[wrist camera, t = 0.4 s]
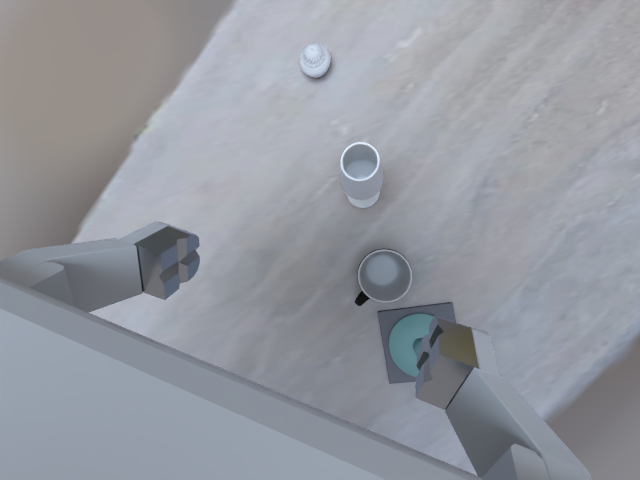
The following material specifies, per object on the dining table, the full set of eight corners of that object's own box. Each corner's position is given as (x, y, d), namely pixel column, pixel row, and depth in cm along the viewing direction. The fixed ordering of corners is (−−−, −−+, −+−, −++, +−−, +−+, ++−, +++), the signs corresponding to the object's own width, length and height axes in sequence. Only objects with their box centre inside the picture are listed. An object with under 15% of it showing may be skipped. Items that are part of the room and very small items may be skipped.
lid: (458, 372, 58) (467, 385, 53) (394, 377, 60) (396, 391, 54) (447, 309, 58) (455, 315, 53) (383, 316, 60) (385, 324, 55)
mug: (379, 237, 61) (381, 237, 51) (415, 267, 60) (424, 273, 50) (340, 283, 62) (334, 292, 52) (375, 313, 61) (376, 328, 51)
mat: (463, 375, 58) (465, 377, 57) (389, 381, 60) (389, 383, 60) (451, 302, 59) (452, 303, 58) (377, 311, 61) (377, 312, 60)
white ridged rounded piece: (332, 52, 62) (327, 29, 55) (333, 82, 62) (329, 63, 55) (302, 57, 63) (293, 34, 56) (303, 86, 63) (295, 68, 56)
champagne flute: (346, 174, 61) (332, 134, 38) (380, 174, 60) (388, 132, 37) (345, 208, 62) (331, 189, 38) (379, 208, 61) (387, 189, 37)
